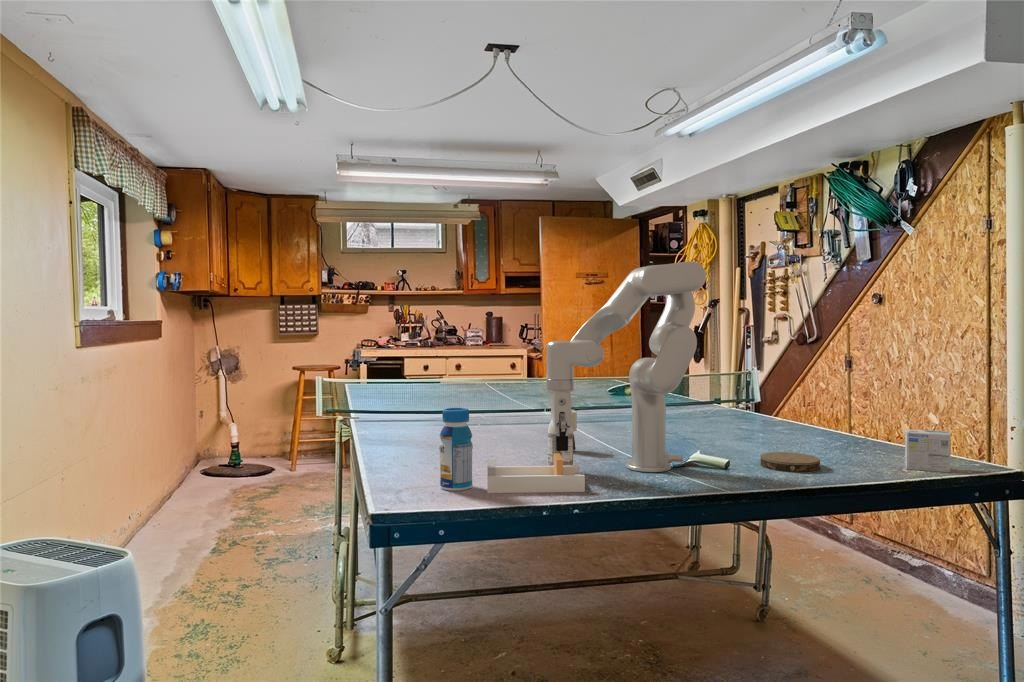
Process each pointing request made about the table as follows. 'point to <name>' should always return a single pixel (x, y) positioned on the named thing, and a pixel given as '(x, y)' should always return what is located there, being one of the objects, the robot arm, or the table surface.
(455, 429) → the beverage bottle
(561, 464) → the orange rectangular block
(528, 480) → the pusher lane
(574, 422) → the character mug
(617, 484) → the table surface
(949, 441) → the light bulb box
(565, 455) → the bath foam
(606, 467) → the table surface
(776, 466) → the brown round disc
